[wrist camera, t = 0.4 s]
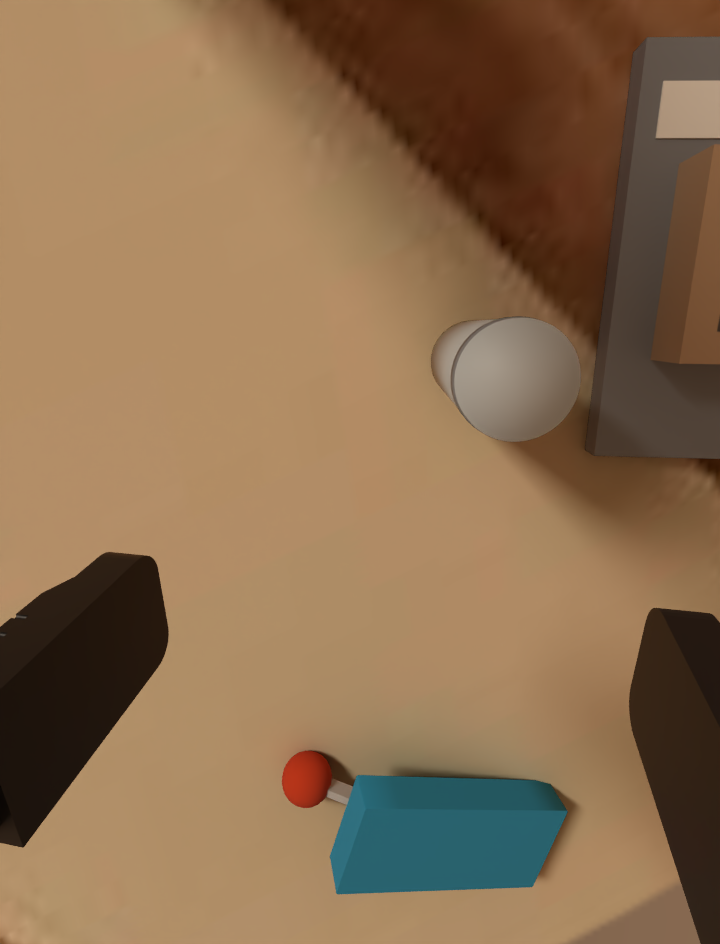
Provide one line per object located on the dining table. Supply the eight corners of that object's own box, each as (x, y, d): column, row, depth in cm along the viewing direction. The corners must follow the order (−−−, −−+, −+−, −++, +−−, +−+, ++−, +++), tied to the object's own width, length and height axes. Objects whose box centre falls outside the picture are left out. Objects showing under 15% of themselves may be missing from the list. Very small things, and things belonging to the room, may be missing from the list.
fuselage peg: (431, 319, 31) (458, 315, 19) (513, 320, 31) (589, 317, 19) (428, 399, 32) (451, 441, 20) (506, 401, 32) (574, 444, 20)
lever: (517, 731, 43) (291, 717, 38) (568, 811, 37) (304, 808, 31) (488, 799, 45) (269, 796, 40) (532, 887, 38) (277, 896, 33)
